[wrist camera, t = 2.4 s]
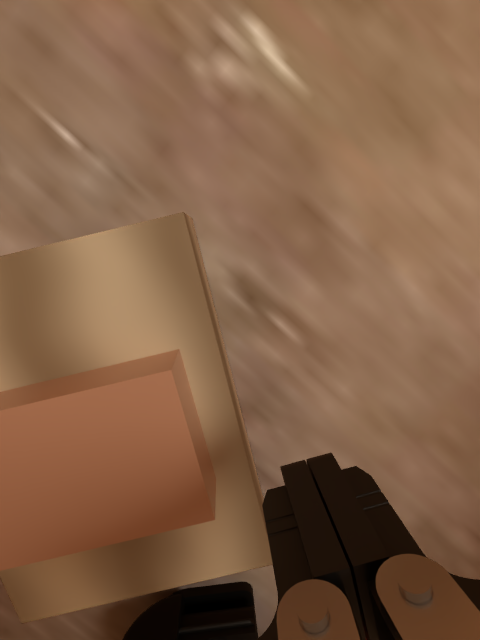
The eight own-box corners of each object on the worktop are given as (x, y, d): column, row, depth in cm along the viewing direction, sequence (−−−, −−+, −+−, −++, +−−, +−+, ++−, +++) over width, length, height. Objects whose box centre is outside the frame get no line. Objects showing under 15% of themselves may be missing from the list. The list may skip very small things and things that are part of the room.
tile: (179, 349, 15) (171, 369, 12) (216, 478, 16) (215, 520, 14) (-41, 401, 15) (-91, 432, 12) (14, 526, 16) (-23, 575, 14)
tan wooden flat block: (192, 218, 17) (183, 212, 13) (264, 503, 21) (274, 564, 17) (-54, 277, 17) (-134, 288, 14) (59, 552, 21) (21, 623, 17)
